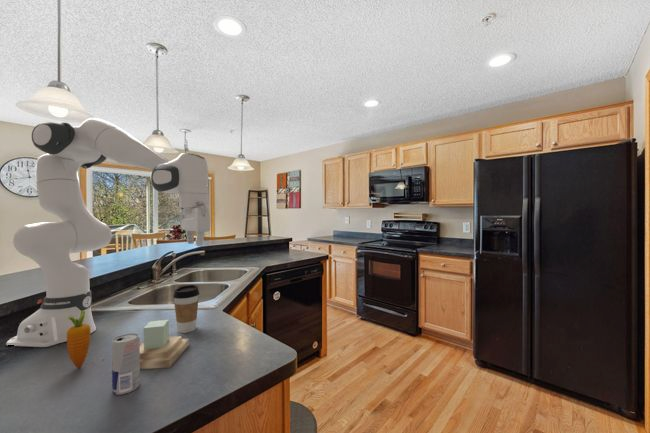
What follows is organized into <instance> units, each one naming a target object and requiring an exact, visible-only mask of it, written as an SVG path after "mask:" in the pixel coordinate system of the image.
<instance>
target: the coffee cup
mask: <svg viewBox="0 0 650 433" xmlns="http://www.w3.org/2000/svg"><path fill="white" fill-rule="evenodd" d="M199 295H200V291H199V287H198V285H196V284H195V285H194V284H187V285H183V286H179V287H177V288H176V289H175V290H174V293H173V296H172V297H173V298H174V303H173V304H174V311H175V312H174V313H175V320H176V326H177V327H176V328H177V333H180V334H186V333H190V332H191V333H192V332H193V331H196V328H197V320H198V319H197V318H198V307H199Z"/></svg>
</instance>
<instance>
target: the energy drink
mask: <svg viewBox="0 0 650 433" xmlns="http://www.w3.org/2000/svg"><path fill="white" fill-rule="evenodd" d="M139 345H140V336H139V334H138V333H126V334H121V335H119V336H117V337H114V338H113V340H112V343H111V390H112V393H113V394H114V395H116V396H121V395H127V394H129V393H131V392H133V391H136V390H137V388H139V386H140V385H141V369H140V346H139ZM126 393H127V394H126Z"/></svg>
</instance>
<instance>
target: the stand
mask: <svg viewBox="0 0 650 433" xmlns="http://www.w3.org/2000/svg"><path fill="white" fill-rule="evenodd" d="M139 346H140V370H146V369H148V370H149V369H150V370H151V369H165V368H169V369H170V368H171V367H172V366H173V364H174V363H175V362H176V361H178V359H179V358H180V357H181V355H182V354H183V353H184V352H185V350H186V349H187V348H188V347H189V346H190V338H183V336H182V335H179V336H169V340H168V342H167V343H166V345H165V346H164V347H162V348H153V349H145V350H144V340H143V341H142V342H141V343H139Z"/></svg>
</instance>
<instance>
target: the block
mask: <svg viewBox="0 0 650 433" xmlns="http://www.w3.org/2000/svg"><path fill="white" fill-rule="evenodd" d="M169 321H170V320H169V319H162V320H152V321H151V320H149V322H148V323H147V324H146V325H145V326H144V327H143V341H144V350H145V349H153V348H162V347H164V346H165V345H166V343H167V342H168V340H169V337H170V333H169V332H170V330H169V323H170V322H169Z"/></svg>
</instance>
